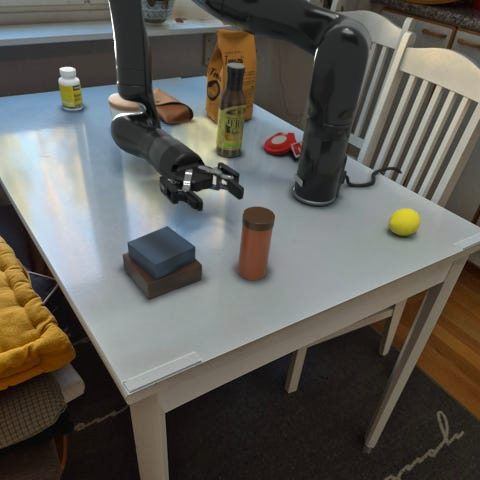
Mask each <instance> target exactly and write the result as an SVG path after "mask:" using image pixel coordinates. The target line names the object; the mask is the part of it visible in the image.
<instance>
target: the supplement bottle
mask: <svg viewBox="0 0 480 480" xmlns="http://www.w3.org/2000/svg"><path fill="white" fill-rule="evenodd" d="M59 75H60V77H59V78H58V88H59V93H60V100H61V105H62V108H63V110H65V111H68V112H79V111H81V110H83V108H84V103H83V95H82V88H81V87H82V86H81V81H80V79H79V77H78V76H77V71H76V68H75V67H71V66H63V67H60V68H59Z"/></svg>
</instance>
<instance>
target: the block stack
mask: <svg viewBox="0 0 480 480" xmlns="http://www.w3.org/2000/svg"><path fill="white" fill-rule="evenodd" d="M127 251H128V252H125V253H122V261H123V262H122V263H123V269H124V271H125V272H126V274H127V275H128V276H129V277H130V278H131V279H132V281H133V282H134V283H135V284H136V286H137V287H138V288H139V289H140V290H141V292H142V293H143V294H144V295H145V296H146V298H147V299H148V300H151V299H153V298H156V297H159V296H161V295H164V294H167V293H170V292H172V291H175V290H178V289H181V288H183V287H186V286H188V285H191V284H193V283H196V282H199V281H201V280H202V279H203V277H202V276H203V264H202V263H201V262H200V261H199V260H198V259H197V258H196V246H195V245H194V244H193V243H191V242H190V241H189V240H187V239H186V238H185V237H183V236H182V235H180V234H179V233H178V232H177V231H175V230H173V229H172V228H171V227H169V226H168V225H166V226H164V227H161V228H159V229H156V230H154V231H152V232H150V233H147V234H144V235H142V236H140V237H137V238H135V239H132V240H130V241H127Z"/></svg>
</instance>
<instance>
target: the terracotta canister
mask: <svg viewBox="0 0 480 480" xmlns="http://www.w3.org/2000/svg"><path fill="white" fill-rule="evenodd" d="M275 221H276V215H275V213H274V211H273V210H271V209H269V208H267V207H265V206H264V207H263V206H250V207H247V208H245V209H244V210H243V212H242V216H241V233H240V245H239V252H238V253H239V254H238V263H237V264H238V265H237V266H238V267H237V272H238V274H239V276H240V277H242V278H243V279H245V280H249V281H260V280H262V279H263V278H265V277H266V274H267V269H268V263H269V257H270V249H271V244H272V238H273V237H272V236H273V229H274V226H275Z"/></svg>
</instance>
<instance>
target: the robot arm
mask: <svg viewBox="0 0 480 480" xmlns="http://www.w3.org/2000/svg"><path fill="white" fill-rule="evenodd" d="M191 1H192V2H193V3H194V4H195V5H197V6H198V7H200V8H201V9H202V10H203V11H205V12H206V13H207V14H208V15H210V16H212V17H214V18H215V19H217V20H219V21H220V22H222V23H224V24H226V25H228V26H230V27H232V28H234V29H236V30H237V31H240V30H241V31H243V32H245V33H248V34H251V35H254V37H259V38H263V39H268V40H273V41H278V42H283V43H286V44H289V45H292V46H295V47H297V48H299V49H301V50H303V51H304V52H306V53H307V54H309V55H311V56H313V57H314V58H313V65H312V71H311V78H310V84H309V90H308V96H307V101H308V102H307V110H306V117H305V121H304V122H305V123H304V127H303V134H302V139H301V141H302V145H301V151H300V156H299V159H298V161H297V162H298V163H297V168H296V172H294V176H293V179H294V186H293V190H292V196H293V197H294V199H296V200H297V201H299V202H300V203H302V204H304V205H305V204H306V205H309V206H313V207H325V206H328V205H331V204H333V203H334V202H335V201H336V198H338V197H339V193H340V189H341V186H342V185H344V184H345V182H346V184H347V186H349V187H351V188H364V187H365V188H366V187H369V186H372V185H373V184H375V182H376V175H377V174H379V173H382V172H385V171H395V172H397V173H398V174H401V175H402V174H403V172H402V170H401V169H400V168H398V167H396V166H386V167H381V168H379V169H376V170H374V171H373V172H372V173H371V179H372V180H371V181H368V182H365V183H353V182H351V181H350V176H349V175H347V173H348V171H347V170H346V165H347V162H348V155H347V154H346V153H347V150H348V145H349V141H350V138H351V133H352V129H353V125H354V120H355V116H356V113H357V108H358V105H359V99H360V95H361V91H362V87H363V83H364V78H365V75H366V71H367V68H368V64H369V59H370V56H371V51H372V46H373V41H372V36H371V33H370V31H369V28H367V26H366V25H365V24H364V23H363V22H361V20H358V19H356V18H354V17H352V16H348V15H346V14H342V13H339V12H337V11H333V10H331V9H328V8H326V7H323V6H321V5H318V4H315V3H313V2H310V1H309V0H191ZM108 4H109V5H108V6H109V10H110V17H111V24H112V31H113V40H114V41H113V42H114V53H115V54H114V55H115V71H116V87H117V93H118V94H119V96H120V98H122V99H123V100H126V101H130V102H135V103H137V104H138V106H139V108H140V113H126V114H120V115H117V116H116V117H115V118H114V119H112V120H111V123H110V135H111V138H112V140H113V142H114V144H116V146H117V147H118V148H119V149H120V150H122V151H123V152H124V153H127V154H129V155H131V156H134V157H136V158H139V159H142V160H144V161H146V163H148V165H150V166H151V167H152V168H153V169H154V171H155V172H156V173H157V174H158V175H159V177H158V178H159V191H160V192H161V194H162V195H163V196H164V197H166V198H167V200H168V201H169V202H170V203H171V204H172V205H178V204H179V203H180V202H182V203H183V204H187V205H188V207H190V208H191V209H192V210H195V211H197V212H202V211H204V200H203V199H202V198H201V197H200V196H199V195H198V194H197V193H199V192H201V191H203V190H204V191H205V190H212V191H217V192H218V191H220V190H224V191H227V192H228V193H229V194H230V195H232V196H233V197H235V198H236V199H237V200H239V201H240V200H243V199H244V196H245V195H244V194H245V188H244V186H242V185H241V184H240V177H241V173H240V172H238V171H237V170H236V169H233V168H232V167H230V166H229V165H228V164H226V163H224V162H222V161H219V162H217V166H216V167H212V166H209V165H206V164H205V162H204V160H203V159H202V157H201V156H200V155H199V154H198V153H197V152H195V151H194V150H193V149H191V148H190V147H188V145H186V144H184V143H183V142H182V141H180V140H179V139H177V138H174V136H172V135H170V134H169V133H168V132H166V131H165V130H163V127H162V122H161V119H160V118H159V116H158V112H157V108H156V104H155V99H154V95H153V90H154V87H153V56H152V48H151V45H150V39H149V35H148V32H147V28H146V27H147V26H146V22H145V18H144V11H143V1H142V0H108ZM214 177H215V183H214ZM223 181H224V182H226V184H225V183H223Z"/></svg>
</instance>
